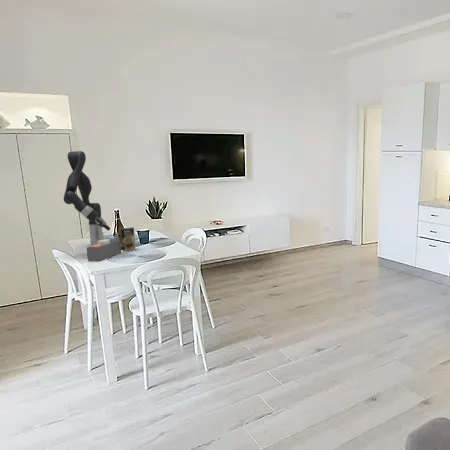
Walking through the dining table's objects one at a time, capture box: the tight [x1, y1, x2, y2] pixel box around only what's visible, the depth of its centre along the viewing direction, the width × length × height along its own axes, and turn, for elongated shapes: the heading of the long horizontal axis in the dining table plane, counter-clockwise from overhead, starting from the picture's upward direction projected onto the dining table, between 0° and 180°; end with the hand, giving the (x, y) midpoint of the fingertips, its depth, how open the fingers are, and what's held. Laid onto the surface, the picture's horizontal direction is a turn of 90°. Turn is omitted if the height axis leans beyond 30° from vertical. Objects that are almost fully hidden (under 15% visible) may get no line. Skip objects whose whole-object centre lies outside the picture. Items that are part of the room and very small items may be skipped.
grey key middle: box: [97, 238, 110, 245], centre depth 265 cm, size 6×6×3 cm
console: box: [86, 239, 122, 262], centre depth 266 cm, size 25×9×9 cm, turn 161°
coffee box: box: [120, 227, 137, 252], centre depth 281 cm, size 9×6×16 cm
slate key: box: [104, 236, 118, 242], centre depth 273 cm, size 6×6×3 cm
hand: (109, 229), depth 270 cm, fingers closed
